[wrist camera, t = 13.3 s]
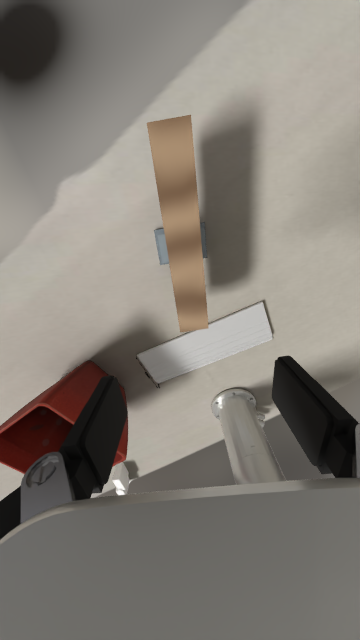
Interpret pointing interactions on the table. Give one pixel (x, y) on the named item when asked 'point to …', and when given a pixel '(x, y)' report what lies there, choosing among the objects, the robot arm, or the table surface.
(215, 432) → the table surface
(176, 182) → the walnut rod
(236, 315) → the baseboard molding
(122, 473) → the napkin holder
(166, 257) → the slate ridge
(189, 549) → the robot arm
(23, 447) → the plant pot
